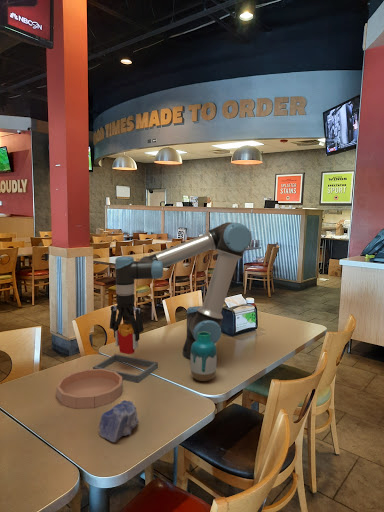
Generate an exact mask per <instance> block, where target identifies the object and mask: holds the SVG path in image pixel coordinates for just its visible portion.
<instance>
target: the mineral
mask: <svg viewBox="0 0 384 512" xmlns="http://www.w3.org/2000/svg"><path fill="white" fill-rule="evenodd" d="M138 424H139V418H138V413H137V407H136V406H135V404H134V402H133V401H130V400H125V399H124V400H122V401H120V403H117V404H116V405H114V406H112V408H110V409H109V410H107V411H105V412H103V413H102V414H101V416H100V420H99V425H98V428H99V431H98V432H99V433H98V434H99V435H100V437H102V438H103V439H106V440H107V441H110V442H111V443H116V442H117V441H118V440H119V439H120V438H122V437H123V436H126V437H127V436H130V435H131V434H132V430H133V429H134V428H135V427H137V425H138Z"/></svg>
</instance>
